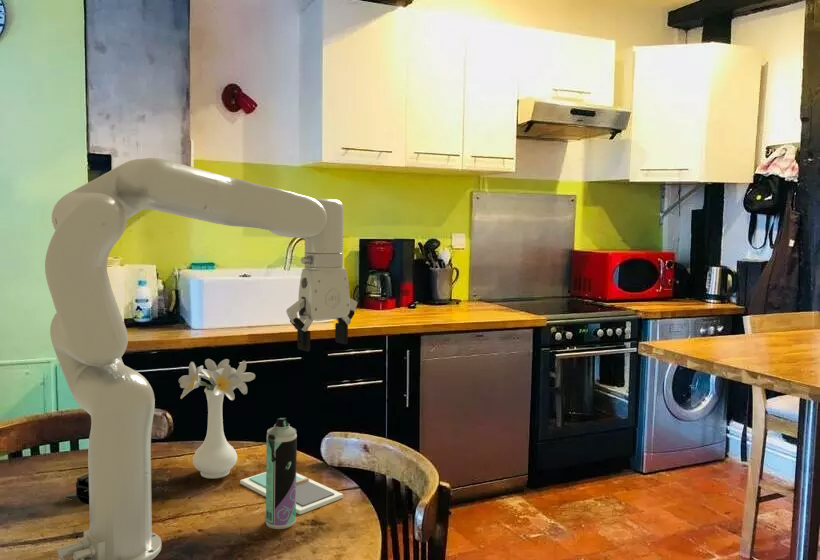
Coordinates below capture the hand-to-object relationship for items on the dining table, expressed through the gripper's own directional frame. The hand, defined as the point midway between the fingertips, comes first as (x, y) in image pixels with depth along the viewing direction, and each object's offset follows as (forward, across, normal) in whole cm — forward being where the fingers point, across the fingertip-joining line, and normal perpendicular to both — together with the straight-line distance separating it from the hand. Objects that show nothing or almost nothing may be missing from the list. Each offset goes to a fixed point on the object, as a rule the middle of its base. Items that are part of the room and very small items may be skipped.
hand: (323, 346), depth 138 cm
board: (+31, -4, +5) cm, 31 cm away
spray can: (+31, -14, -5) cm, 34 cm away
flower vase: (+31, -10, +24) cm, 40 cm away
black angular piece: (+31, -35, +30) cm, 55 cm away
